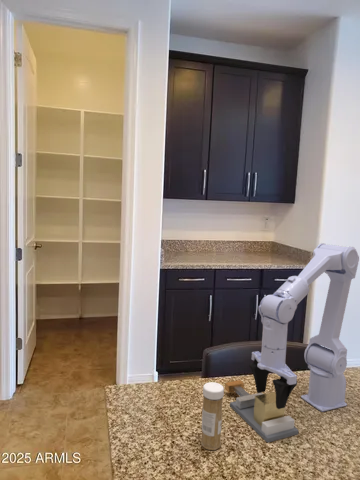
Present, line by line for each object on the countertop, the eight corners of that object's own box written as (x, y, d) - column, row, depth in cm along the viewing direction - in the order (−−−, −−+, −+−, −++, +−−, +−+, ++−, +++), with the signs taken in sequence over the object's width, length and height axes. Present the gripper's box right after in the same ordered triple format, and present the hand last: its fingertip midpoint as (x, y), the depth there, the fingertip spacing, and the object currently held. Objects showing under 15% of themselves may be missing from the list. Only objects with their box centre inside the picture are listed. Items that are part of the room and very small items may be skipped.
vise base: (257, 400, 99) (258, 389, 99) (298, 434, 84) (299, 422, 84) (229, 406, 95) (230, 395, 95) (267, 442, 81) (268, 430, 81)
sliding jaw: (244, 385, 104) (244, 379, 104) (265, 403, 95) (265, 396, 95) (220, 390, 101) (220, 383, 101) (240, 408, 92) (240, 401, 92)
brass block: (273, 414, 90) (274, 391, 90) (283, 423, 87) (285, 399, 86) (253, 419, 88) (255, 395, 87) (263, 428, 84) (265, 404, 84)
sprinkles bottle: (224, 446, 79) (228, 388, 78) (208, 453, 76) (212, 393, 75) (211, 435, 82) (215, 379, 81) (196, 441, 80) (199, 384, 79)
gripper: (242, 336, 91) (240, 388, 92) (280, 359, 78) (276, 419, 79) (265, 333, 94) (262, 383, 95) (305, 355, 80) (301, 412, 82)
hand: (270, 399), depth 87 cm, fingers open, 7 cm apart
